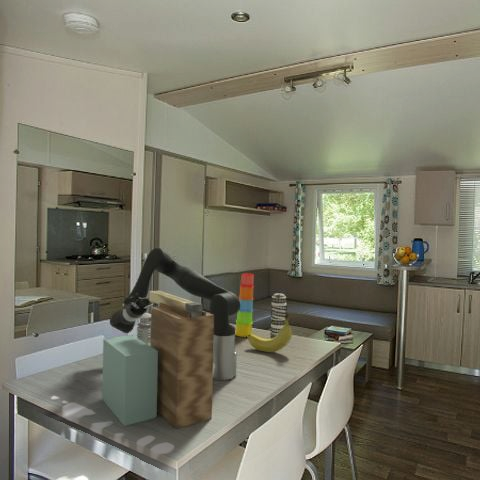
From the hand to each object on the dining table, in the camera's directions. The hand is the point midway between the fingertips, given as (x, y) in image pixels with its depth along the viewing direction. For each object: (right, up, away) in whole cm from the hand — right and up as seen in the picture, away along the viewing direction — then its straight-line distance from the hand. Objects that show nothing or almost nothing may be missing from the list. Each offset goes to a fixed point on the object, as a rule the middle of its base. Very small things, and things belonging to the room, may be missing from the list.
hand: (148, 295), depth 147 cm
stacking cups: (+36, -33, +75) cm, 89 cm away
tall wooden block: (+15, -34, -21) cm, 43 cm away
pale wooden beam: (+12, -2, -17) cm, 21 cm away
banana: (+48, -34, +44) cm, 73 cm away
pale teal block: (-2, -33, -20) cm, 39 cm away
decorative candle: (+55, -34, +66) cm, 92 cm away
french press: (-14, -32, +54) cm, 64 cm away
